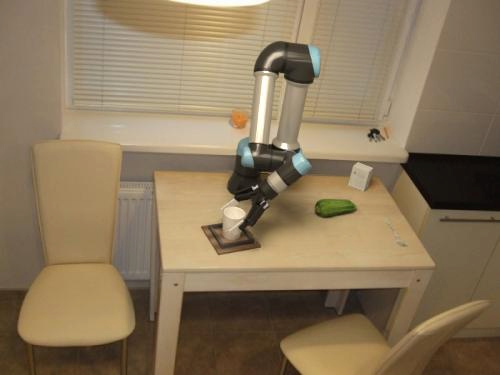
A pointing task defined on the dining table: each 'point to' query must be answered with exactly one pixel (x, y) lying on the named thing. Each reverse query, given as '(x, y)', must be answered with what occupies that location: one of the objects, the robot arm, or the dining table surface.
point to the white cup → (232, 221)
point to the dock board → (229, 246)
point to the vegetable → (334, 206)
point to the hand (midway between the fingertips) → (226, 221)
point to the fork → (394, 231)
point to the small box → (360, 176)
